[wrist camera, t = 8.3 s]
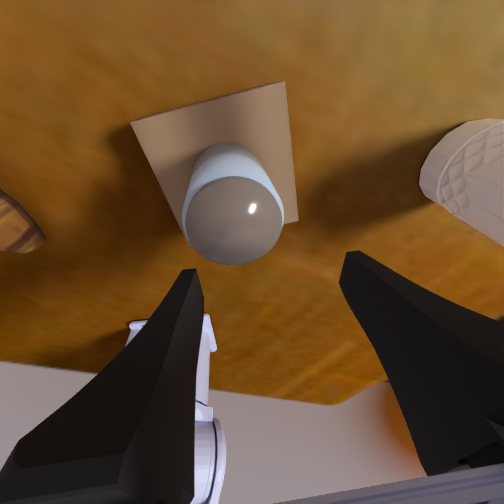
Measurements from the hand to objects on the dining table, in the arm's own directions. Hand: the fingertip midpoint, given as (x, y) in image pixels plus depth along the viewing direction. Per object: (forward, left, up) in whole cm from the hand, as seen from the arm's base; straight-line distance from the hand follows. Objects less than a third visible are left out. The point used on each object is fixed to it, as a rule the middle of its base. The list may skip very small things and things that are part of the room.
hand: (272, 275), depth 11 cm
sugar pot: (-2, +2, -7) cm, 8 cm away
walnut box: (-2, +2, -10) cm, 11 cm away
